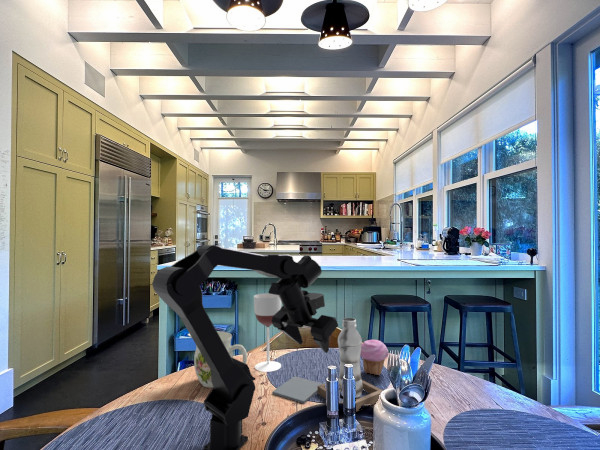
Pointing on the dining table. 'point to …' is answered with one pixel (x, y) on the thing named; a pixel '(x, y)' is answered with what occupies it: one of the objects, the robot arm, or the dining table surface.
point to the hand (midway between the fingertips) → (313, 347)
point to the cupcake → (373, 356)
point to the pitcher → (202, 366)
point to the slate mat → (297, 389)
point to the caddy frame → (367, 399)
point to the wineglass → (267, 323)
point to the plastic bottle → (350, 352)
